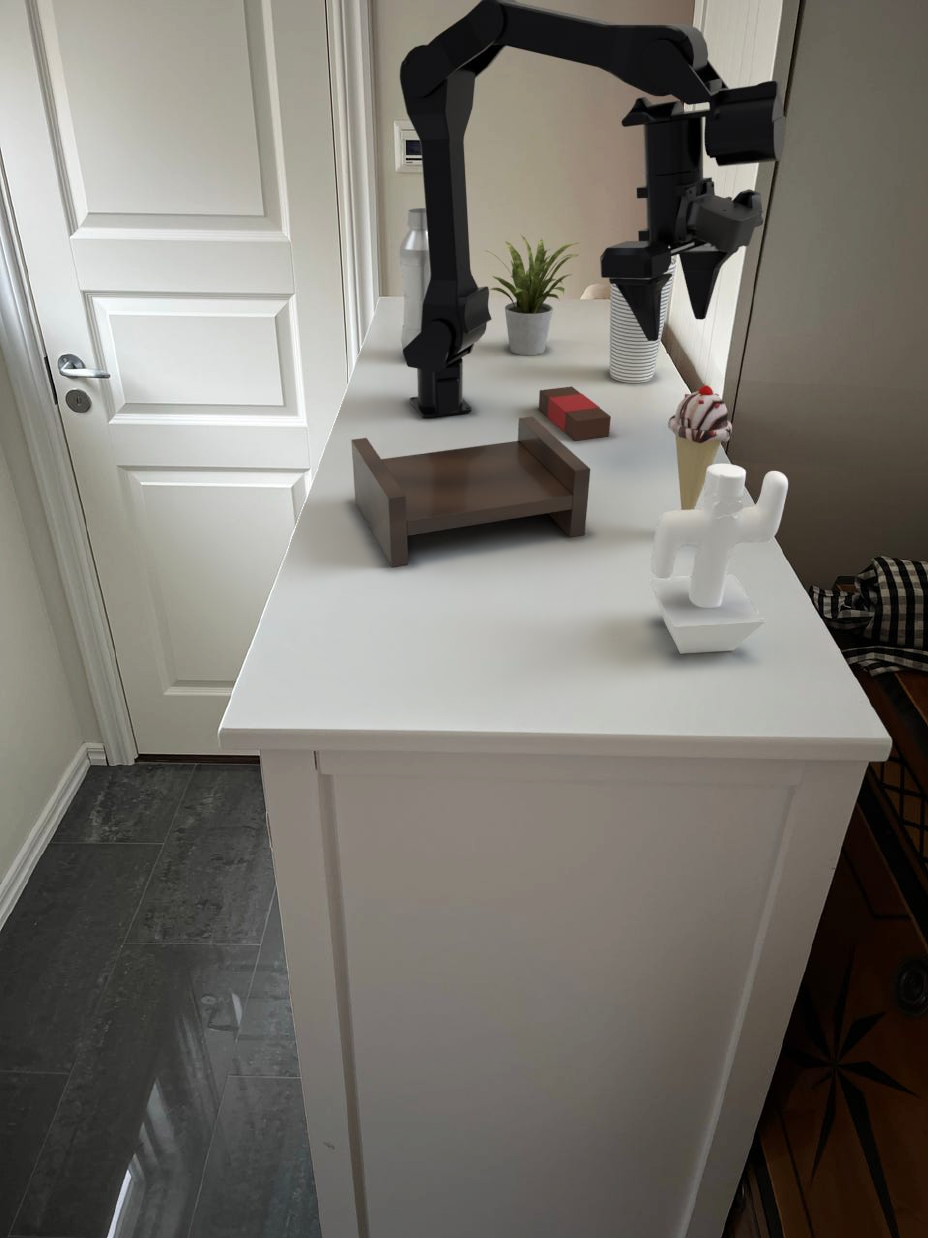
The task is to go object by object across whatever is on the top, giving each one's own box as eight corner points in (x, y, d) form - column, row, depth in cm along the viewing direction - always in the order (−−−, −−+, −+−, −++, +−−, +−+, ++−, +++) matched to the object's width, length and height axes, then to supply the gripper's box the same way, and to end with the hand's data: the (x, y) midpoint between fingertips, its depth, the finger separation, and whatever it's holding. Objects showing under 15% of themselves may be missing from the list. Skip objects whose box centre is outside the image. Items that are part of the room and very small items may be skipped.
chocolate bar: (538, 409, 119) (539, 389, 117) (570, 405, 120) (572, 385, 119) (574, 441, 110) (576, 420, 109) (609, 436, 112) (611, 415, 110)
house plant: (599, 346, 141) (609, 231, 132) (557, 371, 131) (564, 249, 122) (517, 331, 147) (521, 220, 138) (471, 353, 137) (472, 236, 128)
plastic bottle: (452, 352, 138) (452, 207, 127) (436, 367, 132) (434, 216, 121) (411, 348, 140) (408, 204, 128) (394, 362, 134) (389, 213, 123)
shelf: (355, 502, 96) (351, 439, 93) (529, 477, 102) (532, 416, 98) (391, 567, 85) (388, 498, 82) (584, 534, 91) (590, 468, 87)
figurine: (630, 615, 79) (651, 450, 71) (738, 609, 80) (771, 446, 71) (654, 666, 73) (679, 492, 65) (770, 659, 74) (810, 486, 65)
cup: (614, 362, 134) (625, 249, 126) (670, 372, 131) (685, 257, 122) (590, 379, 128) (600, 262, 120) (649, 390, 125) (663, 270, 116)
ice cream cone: (713, 551, 88) (740, 398, 80) (652, 544, 89) (673, 393, 81) (712, 523, 93) (737, 377, 85) (654, 518, 94) (674, 372, 86)
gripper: (692, 182, 82) (695, 358, 90) (794, 152, 93) (789, 311, 101) (592, 188, 90) (602, 350, 97) (697, 159, 100) (699, 307, 108)
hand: (677, 329), depth 101 cm, fingers open, 9 cm apart
